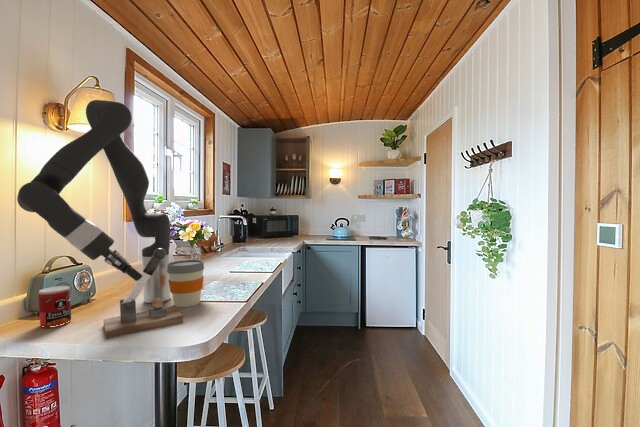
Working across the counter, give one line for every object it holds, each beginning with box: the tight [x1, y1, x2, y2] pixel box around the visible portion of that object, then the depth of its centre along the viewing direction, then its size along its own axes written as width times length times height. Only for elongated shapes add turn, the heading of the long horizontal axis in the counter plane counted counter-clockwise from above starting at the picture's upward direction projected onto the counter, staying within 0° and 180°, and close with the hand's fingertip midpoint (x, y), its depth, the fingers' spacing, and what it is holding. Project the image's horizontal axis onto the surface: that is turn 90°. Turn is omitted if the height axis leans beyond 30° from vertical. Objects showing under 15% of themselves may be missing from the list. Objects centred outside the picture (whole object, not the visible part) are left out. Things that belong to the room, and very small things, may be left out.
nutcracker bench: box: [103, 298, 184, 339], centre depth 101 cm, size 12×20×8 cm, turn 125°
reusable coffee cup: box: [167, 259, 205, 308], centre depth 121 cm, size 13×13×15 cm
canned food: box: [38, 285, 72, 327], centre depth 103 cm, size 8×8×11 cm
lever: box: [122, 248, 166, 303], centre depth 101 cm, size 4×4×20 cm
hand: (139, 278), depth 100 cm, fingers closed
